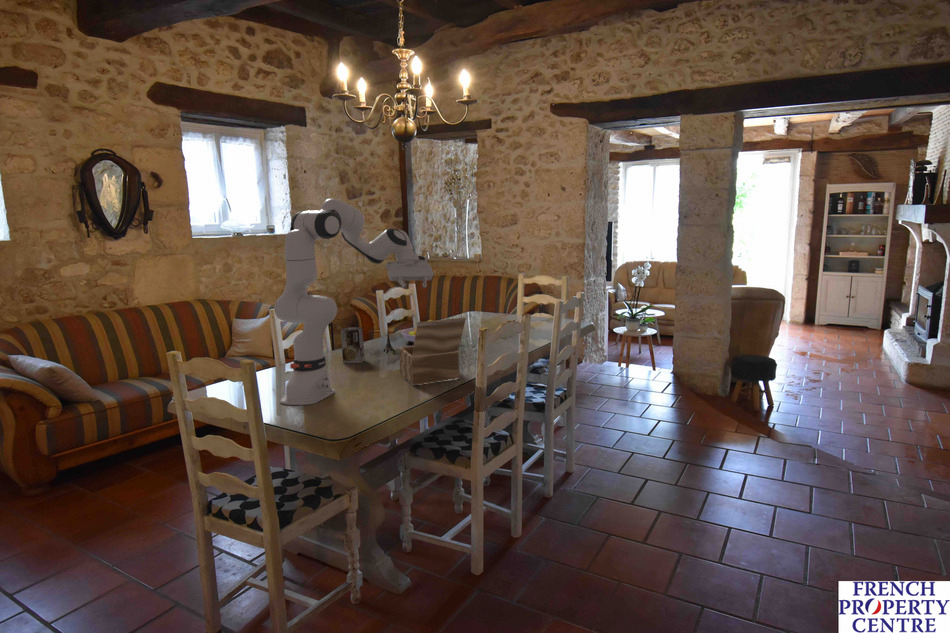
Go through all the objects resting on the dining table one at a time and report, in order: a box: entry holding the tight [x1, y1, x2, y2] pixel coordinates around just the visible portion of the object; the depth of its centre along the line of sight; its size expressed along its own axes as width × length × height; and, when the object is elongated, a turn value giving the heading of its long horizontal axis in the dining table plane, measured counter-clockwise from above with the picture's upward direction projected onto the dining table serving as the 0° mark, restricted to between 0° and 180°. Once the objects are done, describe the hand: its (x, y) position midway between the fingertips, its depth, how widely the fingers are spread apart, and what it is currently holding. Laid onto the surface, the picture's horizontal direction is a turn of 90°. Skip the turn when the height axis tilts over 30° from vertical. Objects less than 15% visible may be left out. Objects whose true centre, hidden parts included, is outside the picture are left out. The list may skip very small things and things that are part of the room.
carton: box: [398, 345, 460, 386], centre depth 244 cm, size 20×20×12 cm
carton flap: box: [412, 317, 467, 357], centre depth 228 cm, size 18×19×1 cm
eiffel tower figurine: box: [378, 329, 396, 356], centre depth 290 cm, size 15×10×13 cm
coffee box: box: [340, 326, 365, 364], centre depth 273 cm, size 9×6×16 cm
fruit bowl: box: [400, 319, 434, 344], centre depth 313 cm, size 28×27×11 cm
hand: (414, 286), depth 249 cm, fingers open, 8 cm apart
